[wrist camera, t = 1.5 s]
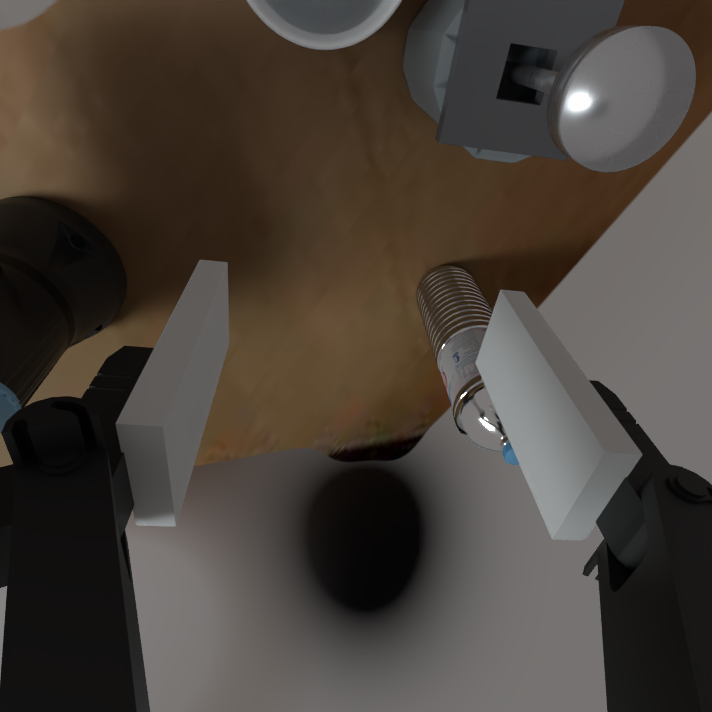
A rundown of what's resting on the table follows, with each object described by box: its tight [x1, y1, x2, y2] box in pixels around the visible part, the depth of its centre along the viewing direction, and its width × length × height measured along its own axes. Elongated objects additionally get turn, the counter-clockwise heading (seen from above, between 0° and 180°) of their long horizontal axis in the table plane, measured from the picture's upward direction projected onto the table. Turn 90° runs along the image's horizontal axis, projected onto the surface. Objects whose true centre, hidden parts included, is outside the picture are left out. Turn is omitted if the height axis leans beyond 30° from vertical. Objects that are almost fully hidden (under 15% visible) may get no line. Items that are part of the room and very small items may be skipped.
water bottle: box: [417, 265, 519, 465], centre depth 44 cm, size 7×7×25 cm
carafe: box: [403, 0, 625, 163], centre depth 34 cm, size 10×12×16 cm
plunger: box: [497, 25, 696, 172], centre depth 25 cm, size 6×6×16 cm
